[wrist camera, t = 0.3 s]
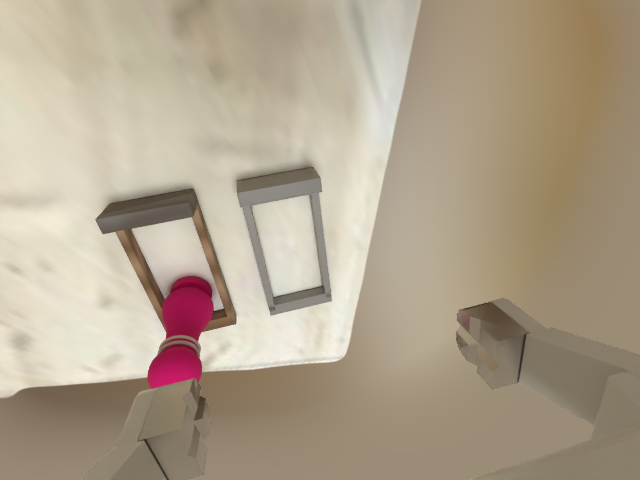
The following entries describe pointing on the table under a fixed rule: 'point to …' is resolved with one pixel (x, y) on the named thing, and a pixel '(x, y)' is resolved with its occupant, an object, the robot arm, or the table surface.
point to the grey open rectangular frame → (306, 184)
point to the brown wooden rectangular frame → (159, 211)
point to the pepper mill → (182, 332)
